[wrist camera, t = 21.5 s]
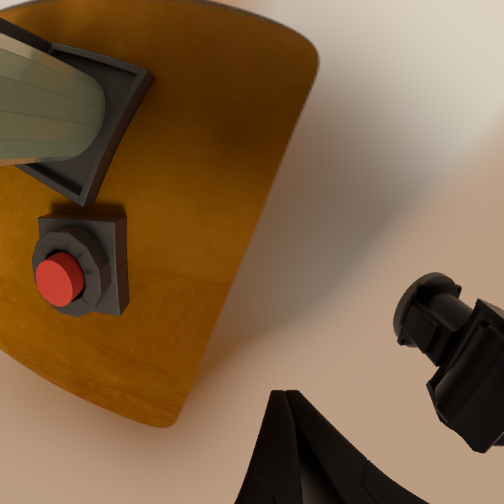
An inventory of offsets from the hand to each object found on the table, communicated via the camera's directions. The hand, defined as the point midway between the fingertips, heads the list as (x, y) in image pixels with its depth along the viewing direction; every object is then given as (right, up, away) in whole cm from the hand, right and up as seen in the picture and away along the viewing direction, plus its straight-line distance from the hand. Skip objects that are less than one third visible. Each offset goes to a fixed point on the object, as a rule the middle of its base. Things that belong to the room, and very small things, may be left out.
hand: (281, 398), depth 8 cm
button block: (-14, +4, +11) cm, 18 cm away
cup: (-14, +15, +8) cm, 22 cm away
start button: (-14, +3, +8) cm, 16 cm away
